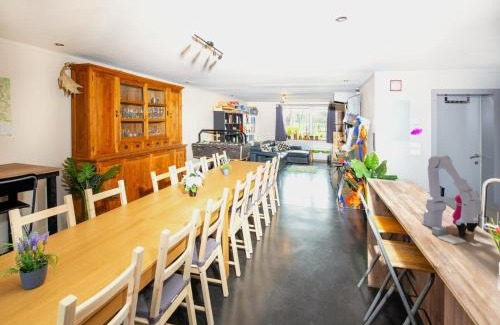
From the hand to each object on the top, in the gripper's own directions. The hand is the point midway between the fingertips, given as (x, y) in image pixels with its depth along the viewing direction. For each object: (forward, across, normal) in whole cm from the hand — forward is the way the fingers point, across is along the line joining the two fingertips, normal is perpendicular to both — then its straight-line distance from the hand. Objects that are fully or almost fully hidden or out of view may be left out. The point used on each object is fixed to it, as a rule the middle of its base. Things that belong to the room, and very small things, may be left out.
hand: (465, 235), depth 158 cm
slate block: (+2, -8, +9) cm, 12 cm away
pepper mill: (+2, +18, +17) cm, 25 cm away
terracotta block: (+2, 0, +8) cm, 8 cm away
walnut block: (+2, 0, 0) cm, 2 cm away
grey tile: (+1, -10, +1) cm, 10 cm away
